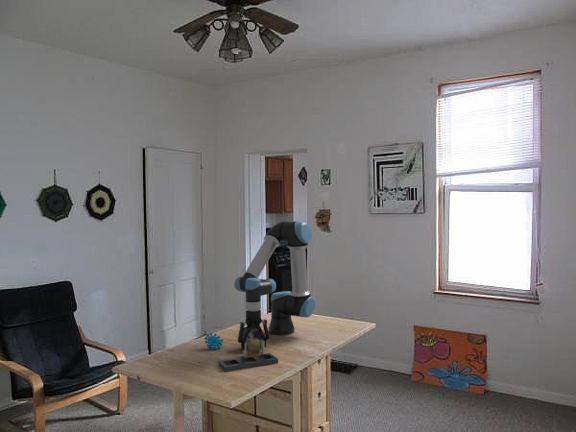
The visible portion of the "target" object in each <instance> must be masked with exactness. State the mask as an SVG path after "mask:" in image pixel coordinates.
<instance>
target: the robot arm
mask: <svg viewBox="0 0 576 432" xmlns="http://www.w3.org/2000/svg"><path fill="white" fill-rule="evenodd" d="M308 224H309V223H307V222H305V221H286V220H285V221H279V222H277V223H276V224H273V226H272V227H270V229H268V231H267V232H266V234H265V235H264V237H263V240H264V241H263V242H262V243H261V246H260V247H259V249H258V250H257V252H256V254H255V256H254V257H253V259H252V260H251V262H250V263H249V266H248V267H247V269H246V271H245V272H244V274H243V275H242V276H239V277H237V278H235V280H234V289H235V290H236V291H238V292H240V293H241V292H243V293H245V320H244V321H239V330H238V334H237V335H238V336H237V342H238V343H239V344H240V349H241V351H242V352H243V353H242V357H247V356H248V350H247V349H246V343H245V341H246V339H247V337H248V334H249V332H250V331H251V329H254V328H257V329H258V331H259V333H260V335H261V337H262V340H261V350H260V354H266V352H265V347H267V340H269V339H270V335H276V336H284V335H285V336H287V335H291V334H293V333H295V325H294V322H293V320H292V316H293V317H300V318H306V319H307V318H310V317H311V316H312V315H313V313H314V312H315V309H316V299H315V297H313V296H312V295H311V291H310V290H308V273H307V254H306V248H307V247H308V245H309V243H310V242H311V240H312V229H311V226H310V225H308ZM282 243H286V247H287V248H288V249H289V253H290V255H289V256H290V269H291V270H290V271H291V287H292V290H291V291H289V290H287V291H278V292H275V291H276V289H277V283H276V281H275V280H274V279H273V278H266V279H262V278H259V277H260V276H261V275H262V272H263V270H264V269H265V267H266V266H267V265H268V264H267V263H268V262H269V260H270V258H271V256H272V255H273V253H274V252H275V250H276V248H278V247H280V245H281V244H282ZM270 294H271V297H270V306H271V307H270V311H271V313H270V314H271V319H270V322H269V326H268V320H267V319H266V318H263V319H262V310H261V309H262V301H261V299H262V298H261V297H263V296H265V295H270ZM261 324H262V327H263V329H262V327H261ZM244 327H246V331H245V333H244V335H243V331H244ZM242 336H243V338H242Z"/></svg>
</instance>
